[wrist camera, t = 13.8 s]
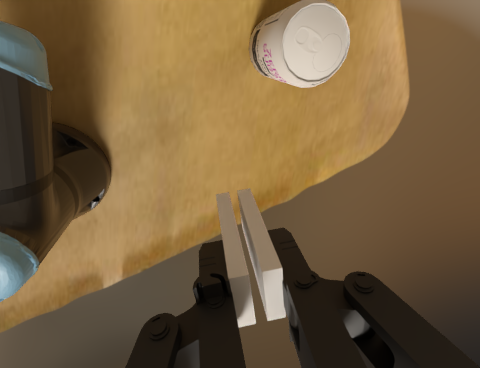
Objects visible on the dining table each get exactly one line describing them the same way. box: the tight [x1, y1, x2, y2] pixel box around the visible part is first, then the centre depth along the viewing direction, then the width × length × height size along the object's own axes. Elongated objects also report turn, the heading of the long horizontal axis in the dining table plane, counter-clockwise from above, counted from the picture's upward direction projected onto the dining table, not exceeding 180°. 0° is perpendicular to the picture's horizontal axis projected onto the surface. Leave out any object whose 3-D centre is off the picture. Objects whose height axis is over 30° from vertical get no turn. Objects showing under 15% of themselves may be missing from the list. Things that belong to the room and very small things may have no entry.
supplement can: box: [249, 0, 350, 88], centre depth 33 cm, size 8×8×15 cm
